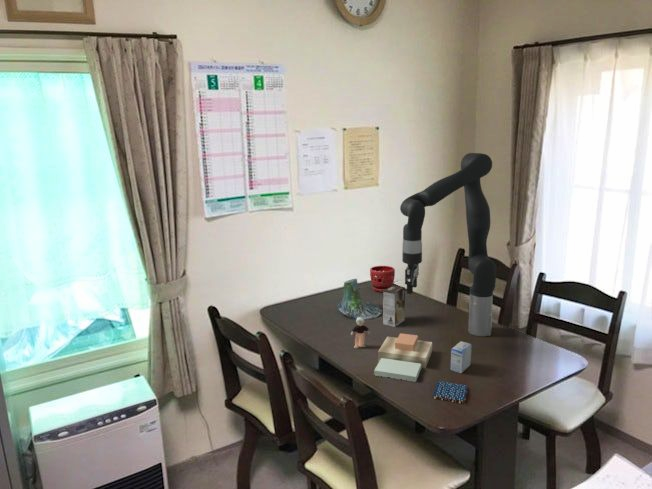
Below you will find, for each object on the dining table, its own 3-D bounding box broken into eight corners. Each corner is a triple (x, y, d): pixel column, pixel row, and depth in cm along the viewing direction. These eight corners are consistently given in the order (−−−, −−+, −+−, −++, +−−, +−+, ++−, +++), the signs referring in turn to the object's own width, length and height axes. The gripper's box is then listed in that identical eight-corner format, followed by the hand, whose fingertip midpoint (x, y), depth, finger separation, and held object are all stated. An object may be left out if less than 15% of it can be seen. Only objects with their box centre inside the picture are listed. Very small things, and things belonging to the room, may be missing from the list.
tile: (417, 341, 194) (417, 335, 193) (413, 351, 186) (413, 345, 185) (400, 339, 197) (400, 333, 196) (394, 348, 188) (394, 342, 188)
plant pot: (399, 290, 265) (399, 268, 262) (379, 295, 259) (379, 273, 256) (385, 283, 276) (384, 263, 273) (365, 288, 270) (365, 267, 267)
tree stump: (371, 324, 223) (360, 285, 220) (333, 326, 235) (322, 289, 232) (389, 308, 238) (379, 271, 236) (352, 311, 250) (342, 276, 247)
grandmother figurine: (353, 350, 198) (352, 320, 195) (350, 346, 201) (349, 316, 198) (371, 347, 200) (371, 317, 196) (368, 343, 203) (367, 314, 200)
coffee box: (392, 317, 229) (392, 284, 225) (405, 320, 225) (405, 287, 221) (382, 324, 222) (382, 290, 218) (395, 327, 218) (395, 293, 214)
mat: (421, 368, 181) (421, 363, 180) (415, 381, 172) (415, 376, 171) (381, 362, 186) (381, 358, 186) (374, 375, 177) (374, 370, 177)
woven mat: (465, 406, 157) (465, 400, 157) (432, 400, 161) (432, 394, 161) (469, 390, 167) (469, 384, 166) (437, 384, 171) (437, 379, 170)
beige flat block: (432, 351, 194) (432, 342, 193) (425, 368, 181) (425, 358, 180) (387, 345, 200) (387, 336, 199) (378, 361, 188) (378, 351, 187)
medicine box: (459, 362, 185) (460, 340, 183) (470, 365, 182) (471, 343, 180) (450, 370, 179) (450, 348, 177) (461, 374, 176) (462, 351, 174)
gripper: (418, 255, 184) (417, 297, 188) (425, 246, 197) (424, 285, 201) (398, 254, 187) (398, 295, 191) (406, 245, 200) (406, 283, 204)
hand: (411, 290), depth 196 cm, fingers open, 7 cm apart
